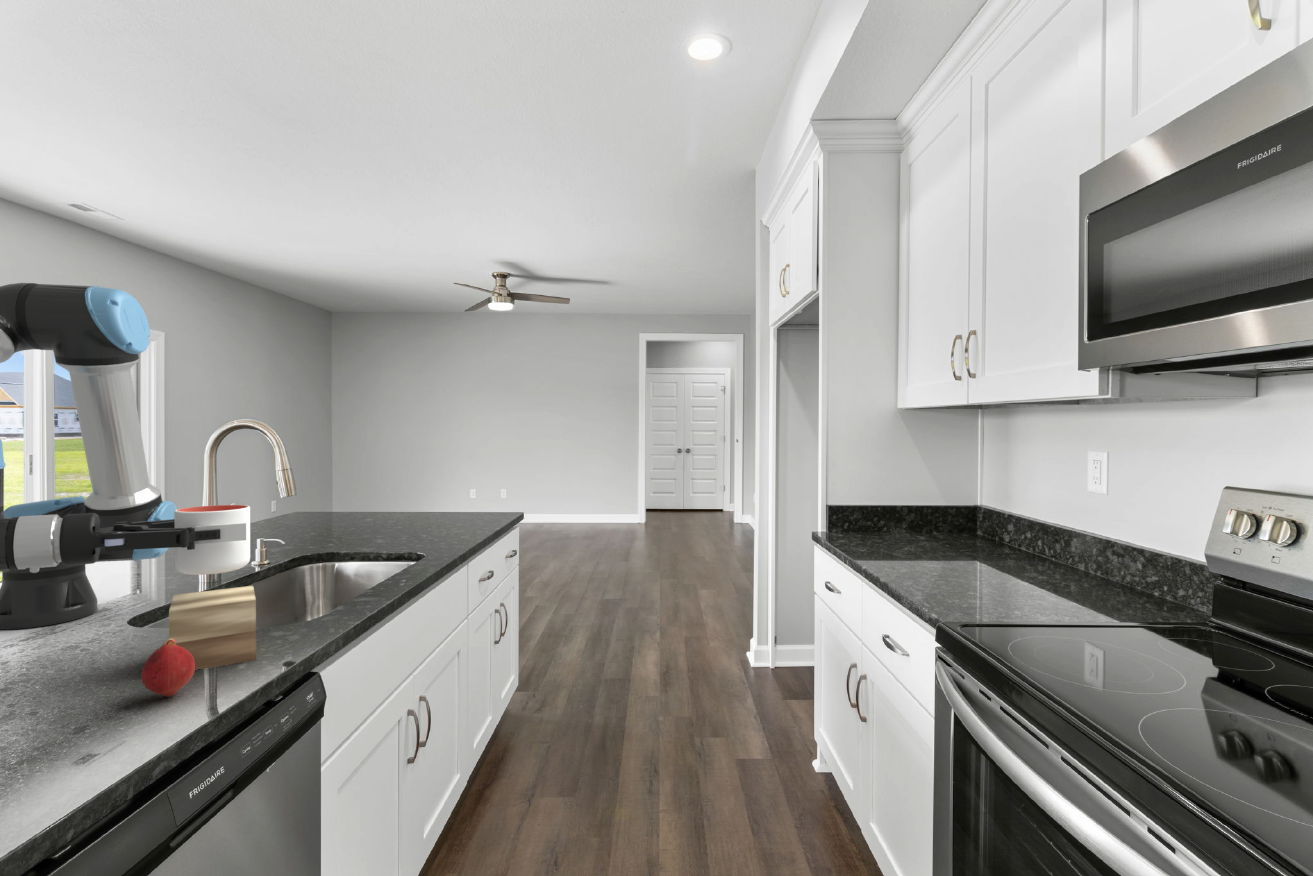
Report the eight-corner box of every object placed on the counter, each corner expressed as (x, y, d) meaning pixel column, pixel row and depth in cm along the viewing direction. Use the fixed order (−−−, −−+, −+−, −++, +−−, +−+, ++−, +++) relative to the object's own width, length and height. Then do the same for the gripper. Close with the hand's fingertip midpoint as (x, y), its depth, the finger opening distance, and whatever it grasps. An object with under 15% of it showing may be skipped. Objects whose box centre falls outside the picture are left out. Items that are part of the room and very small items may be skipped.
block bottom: (173, 655, 102) (173, 625, 102) (253, 642, 109) (253, 614, 109) (169, 677, 93) (169, 644, 93) (256, 661, 100) (256, 630, 100)
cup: (211, 578, 95) (211, 512, 95) (158, 575, 97) (157, 511, 97) (264, 564, 105) (264, 505, 105) (215, 562, 107) (215, 504, 107)
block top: (173, 625, 102) (173, 594, 102) (253, 614, 109) (253, 585, 109) (169, 644, 93) (169, 611, 93) (255, 630, 100) (255, 599, 100)
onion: (152, 709, 82) (151, 649, 82) (134, 699, 85) (134, 641, 85) (202, 693, 87) (202, 637, 87) (184, 684, 90) (184, 629, 90)
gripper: (76, 553, 100) (242, 540, 113) (44, 581, 81) (247, 561, 94) (76, 507, 100) (242, 498, 112) (44, 523, 81) (247, 511, 94)
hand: (244, 527), depth 103 cm, fingers closed on cup, 10 cm apart
